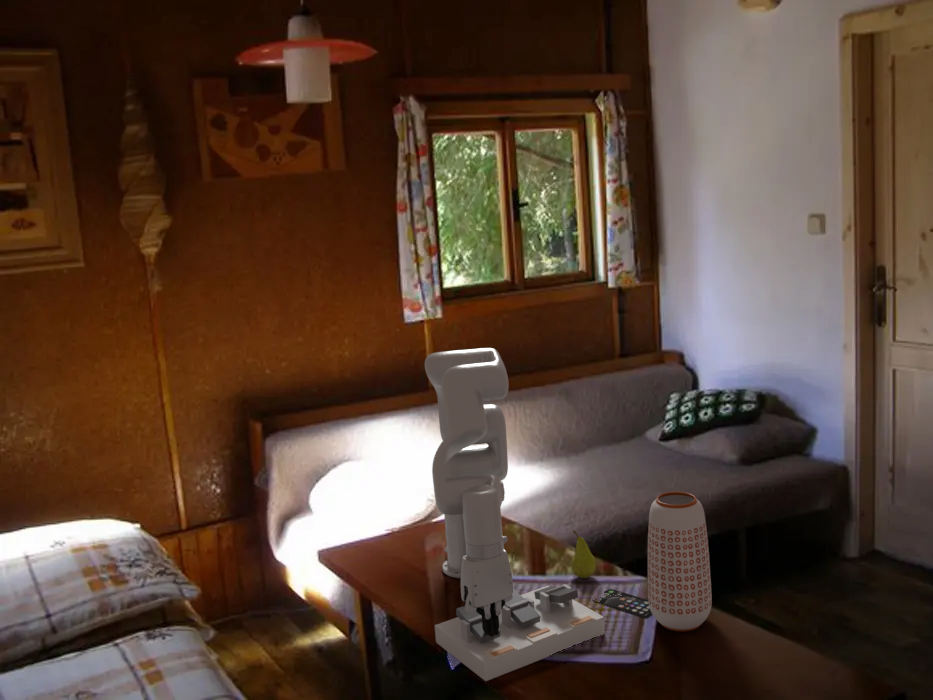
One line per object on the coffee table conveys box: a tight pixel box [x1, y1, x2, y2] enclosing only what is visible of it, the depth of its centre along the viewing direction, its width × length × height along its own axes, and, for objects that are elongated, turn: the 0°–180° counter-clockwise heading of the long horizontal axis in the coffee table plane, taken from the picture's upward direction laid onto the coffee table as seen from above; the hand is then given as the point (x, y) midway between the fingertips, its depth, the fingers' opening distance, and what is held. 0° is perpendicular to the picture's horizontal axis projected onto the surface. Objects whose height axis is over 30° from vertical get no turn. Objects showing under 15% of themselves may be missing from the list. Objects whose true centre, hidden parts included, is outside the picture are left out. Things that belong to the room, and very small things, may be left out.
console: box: [434, 583, 606, 682], centre depth 210 cm, size 20×30×8 cm, turn 121°
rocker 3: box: [534, 585, 579, 603], centre depth 215 cm, size 10×5×2 cm, turn 30°
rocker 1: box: [455, 605, 501, 644], centre depth 205 cm, size 10×5×2 cm, turn 32°
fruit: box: [571, 530, 597, 579], centre depth 237 cm, size 6×6×12 cm
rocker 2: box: [504, 588, 541, 628], centre depth 210 cm, size 10×5×2 cm, turn 32°
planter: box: [647, 491, 713, 632], centre depth 210 cm, size 13×13×28 cm
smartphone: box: [592, 588, 653, 619], centre depth 223 cm, size 7×1×15 cm
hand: (491, 633), depth 200 cm, fingers closed
